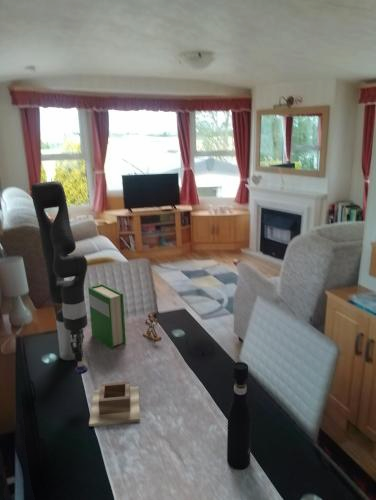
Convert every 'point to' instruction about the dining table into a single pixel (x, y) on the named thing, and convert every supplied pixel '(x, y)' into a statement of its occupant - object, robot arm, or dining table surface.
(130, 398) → the socket board
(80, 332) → the robot arm
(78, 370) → the toy lamp
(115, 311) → the hardback book
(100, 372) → the dining table surface
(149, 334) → the openwork figure ornament
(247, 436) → the wine bottle
